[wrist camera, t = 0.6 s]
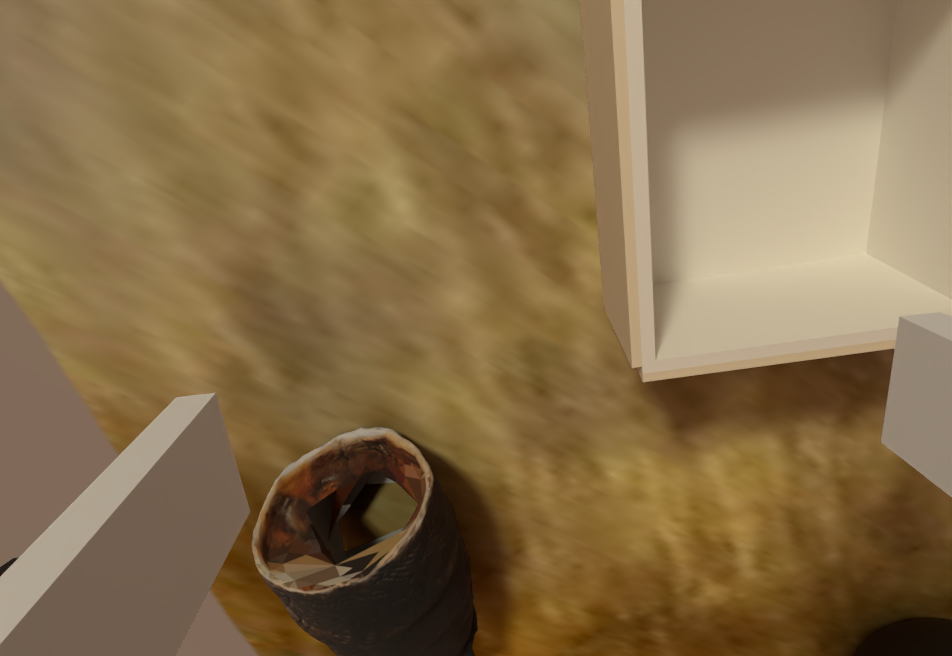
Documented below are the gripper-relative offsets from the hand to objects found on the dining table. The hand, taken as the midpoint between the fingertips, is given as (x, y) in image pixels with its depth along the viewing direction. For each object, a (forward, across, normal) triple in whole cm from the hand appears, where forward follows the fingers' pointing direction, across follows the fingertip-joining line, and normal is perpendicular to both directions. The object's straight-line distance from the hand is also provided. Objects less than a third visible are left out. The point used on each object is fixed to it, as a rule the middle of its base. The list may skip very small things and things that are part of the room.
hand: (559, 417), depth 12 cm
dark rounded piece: (+37, -11, -32) cm, 50 cm away
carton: (+32, +18, +3) cm, 37 cm away
